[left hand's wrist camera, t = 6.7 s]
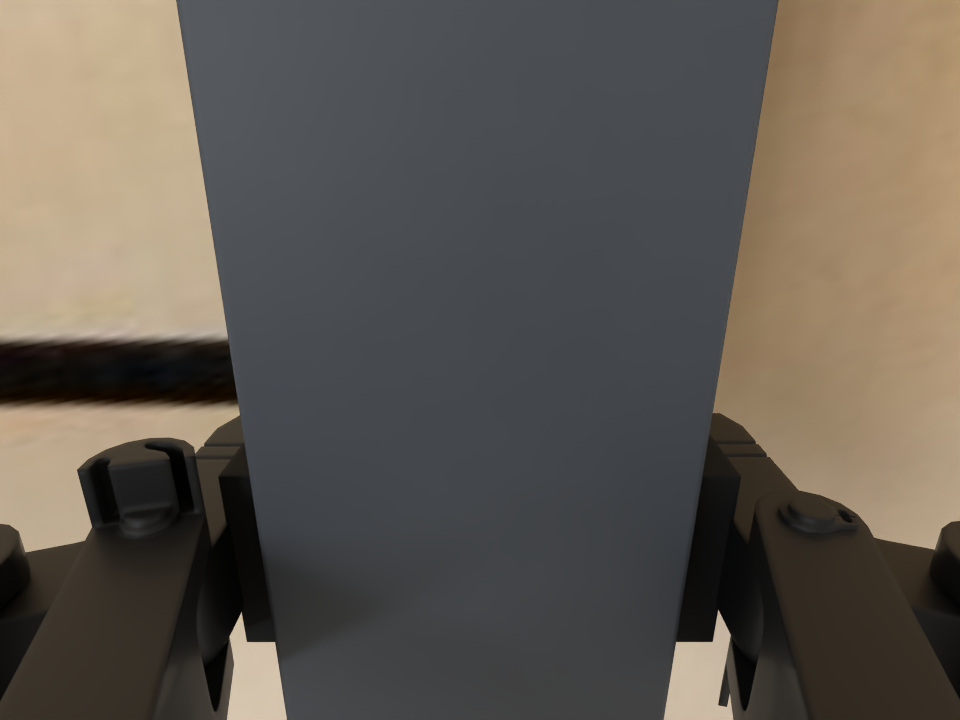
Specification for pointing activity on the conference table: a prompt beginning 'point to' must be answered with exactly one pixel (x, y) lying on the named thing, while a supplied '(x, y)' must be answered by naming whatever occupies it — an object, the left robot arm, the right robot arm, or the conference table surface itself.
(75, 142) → the conference table surface
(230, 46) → the bar
